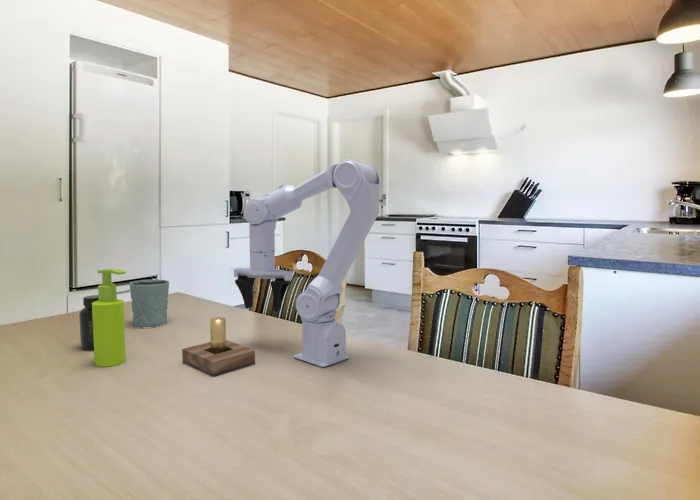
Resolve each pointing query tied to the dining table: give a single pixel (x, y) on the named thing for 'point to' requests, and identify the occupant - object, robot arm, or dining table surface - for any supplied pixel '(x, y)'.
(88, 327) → the supplement bottle
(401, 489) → the dining table surface
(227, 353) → the walnut block
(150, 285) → the grey-green plant pot
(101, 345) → the soap dispenser
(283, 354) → the dining table surface
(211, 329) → the brass peg
